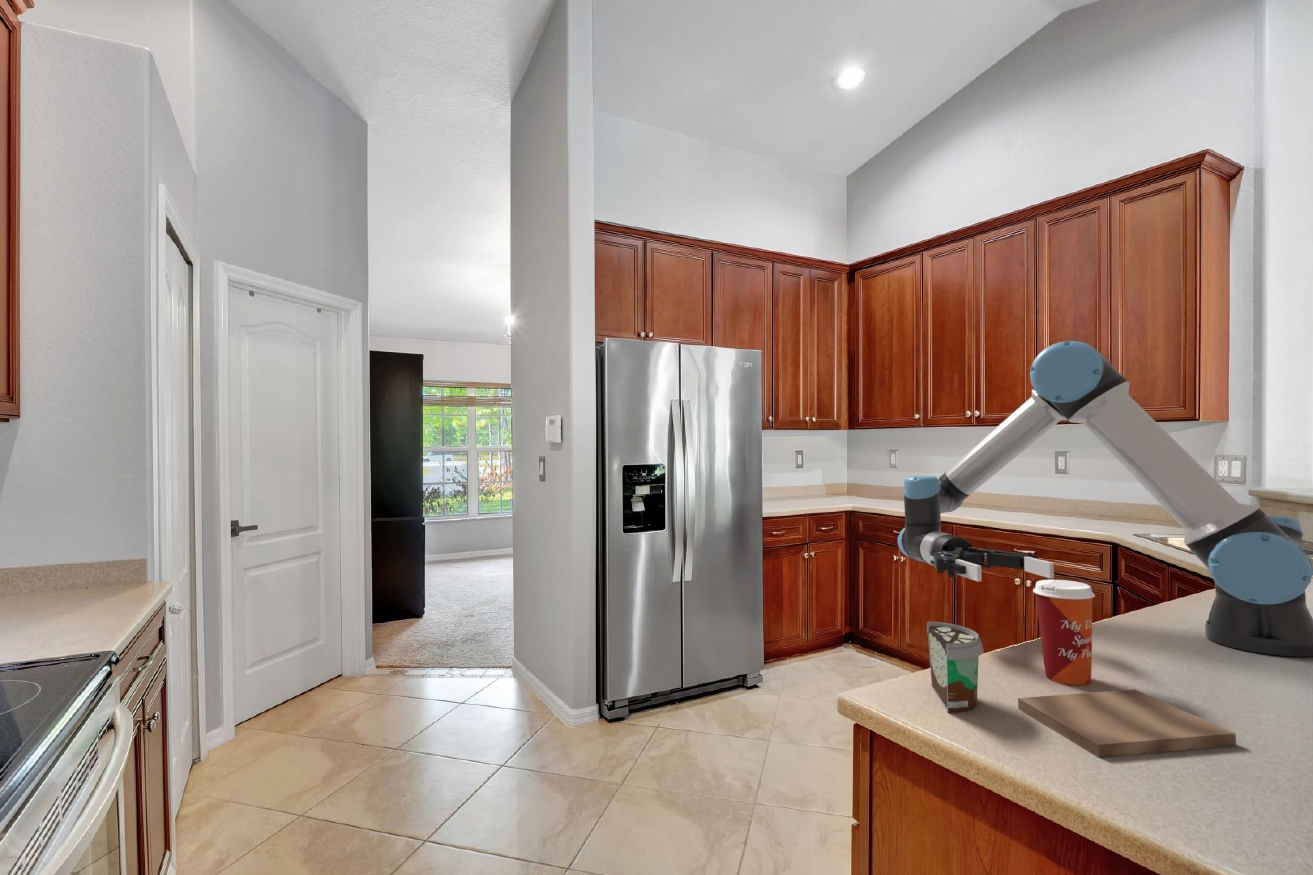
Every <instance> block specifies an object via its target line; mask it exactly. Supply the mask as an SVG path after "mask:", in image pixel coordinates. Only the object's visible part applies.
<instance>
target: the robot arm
mask: <svg viewBox="0 0 1313 875" xmlns="http://www.w3.org/2000/svg"><path fill="white" fill-rule="evenodd" d="M1029 377H1030V382H1031V385H1032V387H1033V388H1032V389H1031V397H1029V398H1028V399H1027V400H1026V401H1025V402H1024V403H1023V404H1021V405H1020V406H1019V407H1018V408H1016V410H1015V411H1013V412H1012V413H1011V414H1009V416H1007V417H1006V419H1004V420H1003V421H1001V422H1000V424H999V425H997V426H996V427H994V429H993V430H992V431H990V432H989V434H987V435H986V436H984V438H982V440H980V441H979V442H978V443H977V444H975V446H973V447H972V448H971V449H970V450H968V452H966V453H965V454H964V455H963V456H962V457H961V458H960V459H958V460H957V461H956V462H955V463H954V464H953V465H951V466H950V467H949V468H948V469H947V470H946V471H945V472H944V473H943V474H942V475H940V476H939V477H937V476H936V475H910V476H906V477H905V479H904V481H903V491H902V492H903V493H902V494H903V499H904V500H903V501H904V528H902V530H900V531H899V534H898V536H897V545H898V548H899V550H900V551H901V552H902V554H904V555H905V556H906V557H908V558H910V559H912V560H914V561H917V562H921V563H925V564H927V565H930V566H934V568H935V571H936V573H938V574H943V573H944V571H947V577H948V578H955V577H956V576H955V575H957V576H959V577H963V578H965V579H969V580H973V581H975V582H982V581H983V579H982V577H983V576H982V568H986V569H991V568H993V567H999V568H1006V569H1007V568H1008V569H1017V570H1024V572H1027V573H1031V574H1032V575H1033V574H1034V575H1037V576H1040V577H1044V578H1047V579H1054V578H1055V570H1054V568H1055V566H1054V562H1050V561H1047V560H1042V559H1039V555H1036V554H1033V553H1032V552H1029V551H1028V552H1027V553H1021V552H1014V551H1013V552H1012V551H1004V550H998V549H993V548H988V549H986V548H985V549H983V548H978V547H976V546H975V547H974V546H973V545H972V544H971V542H969V540H968V539H966V538H964V537H961V536H957V535H954V534H951V533H946V532H942V530H941V529H942V528H941V527H942V526H941V525H942V519H941V514H945V513H952V512H953V511H955V510H957V509H958V508H960V507H961V506H962V505H963V503H964V502H965V500H966V499H967V498H969V496H970V495H972V494H973V493H974V492H975V491H977V489H979V488H980V487H981V486H983V485H984V484H985V483H986V482H988V481H989V480H990V479H991V478H992V477H994V476H995V475H996V474H997V473H998V472H1000V471H1001V470H1002V469H1004V468H1005V467H1006V466H1007V465H1008V464H1010V463H1011V462H1012V461H1013V460H1015V458H1017V457H1018V456H1019V455H1020V454H1021V453H1023V452H1024V451H1025V450H1027V449H1028V448H1029V447H1030V446H1031V445H1033V443H1035V442H1036V441H1037V440H1038V439H1040V438H1041V437H1042V436H1043V435H1045V434H1046V433H1047V432H1049V430H1051V429H1052V428H1053V427H1055V425H1056V424H1058V423H1059V422H1061V421H1069V423H1072V424H1073V423H1075V424H1076V423H1077V424H1082V425H1084V426H1085V427H1086V428H1087V429H1088V430H1089V431H1090V432H1091V433H1092V434H1093V435H1094V436H1095V437H1096V438H1097V439H1098V440H1099V441H1100V442H1101V444H1102V445H1103V446H1105V448H1106V449H1107V450H1108V451H1109V452H1110V453H1111V454H1112V455H1113V456H1114V458H1116V459H1117V460H1118V461H1119V462H1120V464H1122V465H1123V466H1124V468H1125V469H1126V470H1127V471H1128V472H1129V473H1130V474H1131V475H1132V476H1133V477H1134V478H1135V479H1136V481H1137V482H1139V484H1141V485H1142V486H1143V488H1144V489H1146V491H1147V492H1148V493H1149V494H1150V495H1151V496H1152V497H1153V498H1154V500H1156V501H1157V502H1158V503H1159V504H1160V505H1161V506H1162V508H1163V509H1164V510H1166V512H1167V513H1168V514H1169V515H1170V516H1171V517H1172V518H1173V519H1174V520H1175V521H1176V522H1177V523H1178V524H1179V526H1180V527H1182V528H1183V530H1184V531H1185V532H1184V533H1185V534H1184V541H1183V543H1184V545H1185V546H1187V548H1189V550H1190V551H1191V552H1192V553H1193V555H1195V557H1197V558H1198V559H1199V561H1200V562H1202V564H1203V565H1204V566H1205V567H1206V568H1207V570H1208V571H1209V574H1210V576H1211V577H1212V580H1213V581H1214V587H1215V597H1214V600H1213V602H1212V606H1211V608H1210V611H1209V613H1208V614H1209V615H1208V619H1207V620H1206V621H1205V625H1204V629H1205V637H1206V638H1207V639H1208V640H1210V641H1212V642H1214V643H1217V644H1220V645H1223V646H1226V647H1229V648H1234V649H1238V650H1241V651H1246V652H1251V653H1252V652H1253V653H1258V654H1266V655H1273V656H1283V657H1313V617H1312V615H1311V612H1310V610H1309V608H1308V605H1307V600H1306V589H1308V587H1309V585H1310V584H1311V582H1312V579H1313V563H1312V560H1311V559H1310V557H1309V555H1308V554H1307V552H1305V551H1304V547H1303V537H1304V531H1303V530H1302V526H1301V523H1300V521H1299V520H1297V519H1296V518H1294V517H1287V516H1286V517H1285V516H1271V515H1270V516H1269V515H1267V514H1266V513H1265V512H1264V511H1263V510H1262V509H1261V508H1260V507H1259V506H1258V505H1252V504H1245V503H1241V502H1238V500H1236V499H1235V498H1234V497H1233V495H1231V494H1230V493H1229V492H1228V491H1227V490H1226V488H1224V487H1223V486H1222V485H1221V484H1220V483H1219V482H1218V481H1217V480H1216V479H1215V478H1214V477H1213V476H1212V475H1211V474H1210V473H1209V472H1208V471H1206V469H1205V468H1204V467H1203V466H1201V465H1200V463H1199V462H1198V461H1197V460H1195V459H1194V458H1193V456H1191V455H1190V454H1189V453H1188V452H1187V451H1186V450H1185V449H1184V448H1183V447H1182V446H1181V445H1180V444H1179V443H1178V442H1177V441H1176V440H1175V439H1174V438H1173V437H1172V436H1171V435H1170V434H1169V433H1168V432H1167V431H1166V430H1165V429H1164V428H1163V427H1162V426H1161V425H1160V424H1159V423H1157V421H1156V420H1155V419H1154V418H1152V417H1151V416H1150V415H1149V413H1148V412H1146V410H1145V409H1144V408H1142V407H1141V406H1140V405H1139V404H1138V403H1137V402H1136V401H1135V400H1134V399H1133V398H1132V397H1131V396H1130V393H1129V391H1130V382H1129V381H1128V380H1127V379H1126V378H1125V377H1124V376H1123V374H1121V373H1120V371H1118V370H1117V369H1116V368H1115V367H1114V366H1113V365H1112V363H1111V362H1110V360H1109V359H1108V358H1107V357H1106V356H1105V355H1104V354H1103V353H1102V352H1100V351H1098V350H1097V349H1096V348H1095V347H1093V346H1092V345H1090V344H1088V343H1085V342H1083V341H1076V340H1068V341H1067V340H1066V341H1059V342H1056V343H1053V344H1051V345H1049V346H1047V347H1046V348H1044V349H1043V350H1041V351H1040V352H1039V353H1038V354H1037V356H1036V357H1035V358H1034V360H1033V362H1032V364H1031V366H1030V372H1029ZM985 560H986V563H985Z"/></svg>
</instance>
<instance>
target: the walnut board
mask: <svg viewBox="0 0 1313 875" xmlns="http://www.w3.org/2000/svg"><path fill="white" fill-rule="evenodd" d="M1017 706H1018V710H1019V711H1021V712H1023V713H1025V714H1027V716H1029V717H1031V718H1033V719H1034V720H1036V721H1038V722H1040V723H1041V724H1042V725H1044V726H1046V727H1048V728H1050V730H1053V731H1055V732H1056V733H1058V734H1059V735H1061V736H1062V737H1064V738H1066V739H1068V740H1070V741H1071V742H1072V743H1074V744H1076V745H1078V746H1080V747H1081V748H1083V749H1084V750H1086V751H1088V752H1090V754H1091V753H1092V755H1094V756H1096V757H1098V758H1107V757H1108V758H1109V757H1120V756H1121V757H1122V756H1130V755H1131V756H1133V755H1132V754H1134V755H1144V754H1143V753H1146V754H1154V753H1155V754H1156V753H1157V752H1158V753H1166V752H1165V751H1170V752H1180V751H1179V750H1181V751H1189V750H1190V749H1193V750H1202V749H1203V750H1206V749H1212V748H1213V749H1215V748H1224V747H1225V748H1227V747H1237V740H1236V739H1237V737H1236V732H1233V731H1232V730H1229V729H1226V728H1224V727H1221V726H1220V725H1217V724H1215V723H1213V722H1211V721H1208V720H1206V719H1203V718H1201V717H1200V716H1197V715H1194V714H1192V713H1190V712H1187V711H1185V710H1183V709H1181V708H1178V707H1176V706H1174V705H1172V704H1169V703H1167V702H1164V701H1162V700H1160V699H1157V698H1155V697H1153V696H1151V695H1148V694H1146V693H1144V692H1142V691H1139V690H1138V689H1123V690H1110V691H1108V690H1107V691H1096V692H1083V693H1068V694H1057V695H1055V694H1054V695H1043V696H1042V695H1040V696H1030V697H1029V696H1028V697H1018V698H1017ZM1190 751H1191V750H1190ZM1141 753H1142V754H1141Z"/></svg>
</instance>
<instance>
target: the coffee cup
mask: <svg viewBox="0 0 1313 875" xmlns="http://www.w3.org/2000/svg"><path fill="white" fill-rule="evenodd" d="M1032 591H1033V593H1034V594H1035V600H1036V609H1037V616H1038V617H1037V618H1038V624H1039V633H1040V642H1041V649H1042V650H1041V651H1042V658H1043V664H1044V666H1043V667H1044V672H1045V676H1046V678H1047V679H1048V680H1050V681H1052V682H1054V681H1056V682H1055V683H1057V682H1059V683H1058V684H1061V683H1063V684H1062V685H1066V686H1073V685H1084V686H1089V685H1090V684H1091V683H1092V682H1091V681H1092V663H1093V662H1092V658H1093V652H1092V651H1093V650H1092V649H1093V599H1094V598H1095V597H1096V595H1095V593H1094V592H1093V590H1092V587H1091V586H1090V584H1089V585H1088V584H1087V583H1085V582H1079V581H1073V580H1066V579H1042V580H1038V581H1036V582H1035V587H1034V588H1033V590H1032ZM1090 682H1091V683H1090Z"/></svg>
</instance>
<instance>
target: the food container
mask: <svg viewBox="0 0 1313 875" xmlns="http://www.w3.org/2000/svg"><path fill="white" fill-rule="evenodd" d="M926 624H927V625H926V634H927V638H928V653H929V665H930V668H929V669H930V682H931V689H932V690H933V692H934V693H935V695H936V697H937V698H938V700H939V702H940V703H941V705H942V706H943V708H944V709H945V711H946V712H947V714H961V713H968V712H971V711H973V710H975V709H976V708H977V707H978V688H979V687H978V683H979V681H978V680H979V679H978V678H979V657H980V656H982V655H983V654H984V652H985V651H984V646H983V643H982V640H981V638H980V637H979V634H978V633H977V632H976V631H974V630H972V629H970V628H967V627H964V626H961V625H957V624H954V623H947V622H937V621H927V623H926Z"/></svg>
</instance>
